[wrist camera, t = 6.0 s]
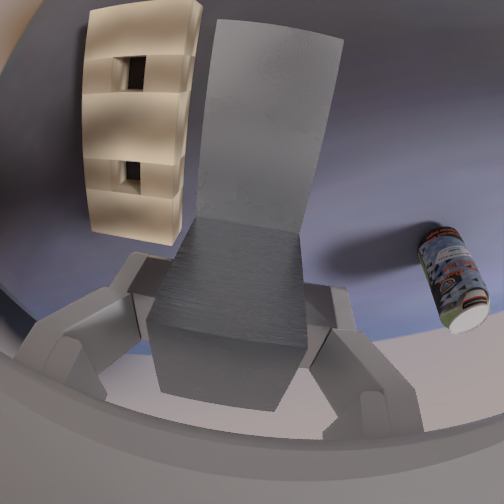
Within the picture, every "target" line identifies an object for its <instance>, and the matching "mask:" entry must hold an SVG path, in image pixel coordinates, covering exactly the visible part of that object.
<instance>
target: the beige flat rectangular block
mask: <svg viewBox="0 0 504 504" xmlns="http://www.w3.org/2000/svg"><path fill="white" fill-rule="evenodd" d="M202 12H203V6H202V5H201V4H199V3H198V2H197V1H196V0H154V1H144V2H136V3H129V4H122V5H116V6H111V7H106V8H101V9H96V10H91V11H90V17H89V23H88V30H87V37H86V46H85V56H84V68H83V85H82V142H83V160H84V173H85V184H86V193H87V202H88V209H89V216H90V223H91V229H92V231H93V232H99V233H104V234H109V235H115V236H120V237H126V238H131V239H137V240H142V241H148V242H153V243H159V244H164V245H170V246H172V245H173V243H174V241H175V240H176V238H177V236H178V234H179V232H180V231H181V229H182V199H183V178H184V162H185V147H186V135H187V123H188V113H189V103H190V94H191V85H192V77H193V69H194V62H195V55H196V48H197V41H198V35H199V29H200V23H201V17H202ZM131 57H146V65H145V75H144V86H143V89H128V80H129V69H130V59H131ZM126 161H133V162H140V179H141V180H134V179H127V178H126Z"/></svg>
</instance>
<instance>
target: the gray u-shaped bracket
mask: <svg viewBox="0 0 504 504" xmlns="http://www.w3.org/2000/svg"><path fill="white" fill-rule="evenodd" d="M343 42H344V40H342V39H339V38H335V37H331V36H327V35H323V34H319V33H315V32H310V31H306V30H301V29H296V28H290V27H285V26H279V25H272V24H265V23H257V22H248V21H237V20H222V19H217V25H216V31H215V37H214V44H213V50H212V57H211V64H210V71H209V79H208V86H207V95H206V103H205V112H204V121H203V131H202V141H201V152H200V163H199V176H198V190H197V205H196V217H195V219H194V221H193V223H192V225H191V227H190V228H189V230H188V232H187V234H186V236H185V238H184V240H183V242H182V244H181V246H180V248H179V250H178V252H177V254H176V256H175V258H174V260H173V262H172V264H171V266H170V269H169V271H168V273H167V275H166V277H165V279H164V281H163V283H162V285H161V287H160V290H159V292H158V294H157V296H156V298H155V300H154V303H153V305H152V307H151V309H150V312H149V314H148V316H147V318H146V326H147V331H148V336H149V341H150V346H151V351H152V356H153V360H154V364H155V369H156V374H157V378H158V382H159V386H160V390H161V392H163V393H167V394H171V395H175V396H179V397H184V398H188V399H193V400H199V401H203V402H209V403H214V404H220V405H226V406H232V407H240V408H246V409H255V410H262V411H272V412H274V411H275V409H276V408H277V406H278V404H279V402H280V401H281V399H282V397H283V395H284V393H285V392H286V390H287V388H288V386H289V384H290V382H291V381H292V379H293V376H294V375H295V373H296V371H297V369H298V367H299V366H300V364H301V362H302V360H303V358H304V356H305V354H306V352H307V350H308V337H307V321H306V307H305V293H304V281H303V269H302V258H301V248H300V238H299V232H300V228H301V225H302V221H303V217H304V213H305V210H306V206H307V202H308V198H309V194H310V190H311V186H312V182H313V178H314V174H315V170H316V166H317V162H318V158H319V154H320V150H321V146H322V141H323V137H324V133H325V128H326V124H327V120H328V115H329V111H330V106H331V102H332V97H333V92H334V87H335V83H336V78H337V73H338V68H339V63H340V58H341V53H342V48H343Z"/></svg>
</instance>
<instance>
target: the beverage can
mask: <svg viewBox="0 0 504 504" xmlns="http://www.w3.org/2000/svg"><path fill="white" fill-rule="evenodd" d="M418 257H419V259H420V262H421V265H422V267H423V270H424V272H425V275H426V278H427V281H428V283H429V286H430V289H431V292H432V295H433V298H434V301H435V304H436V307H437V310H438V313H439V317H440V320H441V322H442V324H443V325H444V326H445V327H447V328H448V329H449V331H450V332H451V333H452V334H462V333H466V332H468V331H471V330H473V329H474V328H476V327H478V326H479V325H481V324H482V323H483V322H484V321H485V320H486V319H487V317H488V316H489V314H490V308H489V305H490V294H489V292H488V290H487V288H486V285H485V283H484V281H483V279H482V277H481V275H480V273H479V271H478V268H477V266H476V264H475V262H474V261H473V259H472V257H471V255H470V253H469V251H468V249H467V247H466V245H465V244H464V242H463V240H462V238H461V236H460V235H459V233H458V231H457V230H455V229H454V228H451V227H440V228H437V229H434V230H433V231H431V232H430V233H428V234H427V235H426V236H425V237H424V238H423V239H422V241H421V242H420V244H419V247H418Z"/></svg>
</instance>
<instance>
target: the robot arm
mask: <svg viewBox="0 0 504 504" xmlns="http://www.w3.org/2000/svg"><path fill="white" fill-rule="evenodd" d="M173 260H174V259H169V258H164V257H159V256H155V255H149V254H144V253H139V252H133V253H131V254H130V255H129V257H128V258H127V260H126V261H125V263H124V264H123V266H122V267H121V269H120V270H119V272H118V273H117V275H116V276H115V278H114V279H113V281H112V282H111V284H110V286H109V287H108V288H107V287H102V288H100V289H98V290H96V291H94V292H92V293H90V294H88V295H86V296H84V297H83V298H81V299H79V300H77V301H75V302H73V303H71V304H69V305H67V306H65V307H63V308H62V309H60V310H58V311H56V312H54V313H52V314H50V315H48V316H47V317H45V318H43V319H41V320H39V321H37V322H36V323H35V325H34V326H33V328H32V329H31V331H30V333H29V334H28V335H27V337H26V339H25V340H24V342H23V344H22V345H21V347H20V348H19V350H18V352H17V353H16V355H15V357H14V359H12V358H10V357H9V356H7V355H5V354H4V353H2V352H0V504H504V413H502V414H499V415H496V416H492V417H489V418H485V419H482V420H478V421H475V422H471V423H467V424H463V425H458V426H454V427H449V428H445V429H439V430H434V431H428V432H424V429H423V424H422V419H421V414H420V409H419V405H418V401H417V396H416V392H415V389H414V388H413V387H412V386H411V385H410V383H409V382H407V380H406V379H405V378H404V377H403V376H402V375H401V374H400V372H399V371H398V370H397V369H396V368H395V367H394V366H393V365H392V364H391V363H390V362H389V361H388V359H387V358H386V357H385V356H384V355H383V354H382V353H381V352H380V351H379V350H378V349H377V348H376V346H375V345H374V344H373V343H372V342H371V341H370V340H369V339H368V338H367V337H366V336H365V335H364V334H363V332H362V331H357V330H356V325H355V321H354V316H353V312H352V308H351V304H350V299H349V295H348V291H347V289H346V288H345V287H337V286H326V285H319V284H313V283H306V282H304V293H305V307H306V321H307V337H308V350H307V352H306V354H305V356H304V358H303V360H302V362H301V364H300V366H299V367H300V368H309V371H310V372H311V374H312V375H313V377H314V379H315V380H316V382H317V383H318V385H319V387H320V388H321V390H322V392H323V393H324V395H325V396H326V398H327V400H328V401H329V403H330V405H331V406H332V408H333V409H334V411H335V413H336V414H337V416H338V418H337V419H336V420H335V421H334V422H333V423H332V424H331V425H330V426H329V427H328V428H327V429H326V430H324V431H323V440H309V439H307V440H306V439H288V438H274V437H263V436H254V435H245V434H238V433H231V432H224V431H218V430H212V429H206V428H202V427H196V426H191V425H187V424H182V423H178V422H174V421H170V420H166V419H162V418H158V417H154V416H151V415H147V414H143V413H140V412H136V411H133V410H130V409H127V408H124V407H121V406H118V405H115V404H112V403H109V402H106V401H105V399H106V397H107V392H106V390H105V388H104V386H103V385H102V383H101V381H100V379H99V378H98V375H99V374H100V373H101V372H102V371H104V370H105V369H106V368H108V367H109V366H110V365H111V364H112V363H114V362H115V361H116V360H118V359H119V358H120V357H121V356H123V355H124V354H125V353H126V352H128V351H129V350H130V349H131V348H132V347H134V346H135V345H136V344H137V343H139V342H140V341H141V340H140V339H142V340H146V341H149V336H148V331H147V326H146V318H147V316H148V314H149V312H150V309H151V307H152V305H153V303H154V300H155V298H156V296H157V294H158V292H159V290H160V287H161V285H162V283H163V281H164V279H165V277H166V275H167V273H168V271H169V269H170V266H171V264H172V262H173Z"/></svg>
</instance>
